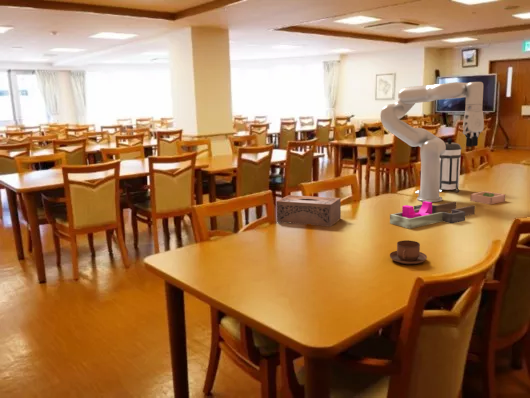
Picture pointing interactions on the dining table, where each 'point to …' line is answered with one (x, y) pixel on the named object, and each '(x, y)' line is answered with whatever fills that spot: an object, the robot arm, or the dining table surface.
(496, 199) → the planter frame
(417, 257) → the cup and saucer
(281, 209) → the tissue box cover
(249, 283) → the dining table surface
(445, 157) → the lantern
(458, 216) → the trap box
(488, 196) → the seedling
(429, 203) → the toy block
